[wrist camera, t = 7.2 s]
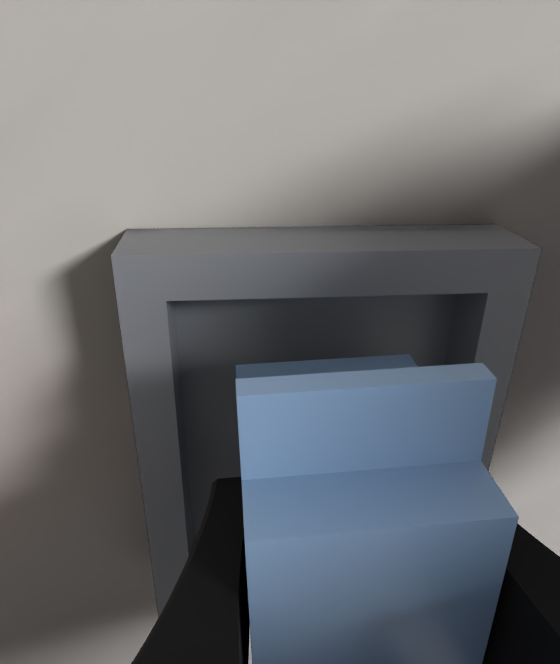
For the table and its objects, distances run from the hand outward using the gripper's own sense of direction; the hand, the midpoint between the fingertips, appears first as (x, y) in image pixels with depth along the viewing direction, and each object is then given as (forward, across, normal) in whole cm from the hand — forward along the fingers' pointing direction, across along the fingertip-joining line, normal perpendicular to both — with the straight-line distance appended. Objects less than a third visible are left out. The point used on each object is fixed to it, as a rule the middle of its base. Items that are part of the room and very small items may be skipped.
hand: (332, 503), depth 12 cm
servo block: (+1, 0, 0) cm, 1 cm away
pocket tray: (+3, 0, 0) cm, 3 cm away
